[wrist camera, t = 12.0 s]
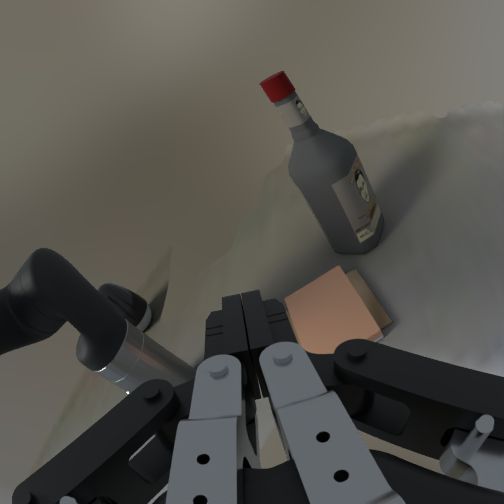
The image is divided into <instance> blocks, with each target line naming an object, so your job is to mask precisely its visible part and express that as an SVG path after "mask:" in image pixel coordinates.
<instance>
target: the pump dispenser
mask: <svg viewBox="0 0 504 504" xmlns="http://www.w3.org/2000/svg"><path fill="white" fill-rule="evenodd" d="M97 291H99V292H100V293H101V294H102V295H103V296H104V297H105V298H106V299H107V300H108V301H109V302H110V304H111V305H112V306H113V307H114V309H115V310H116V311H117V312H118V313H119V314H120V315H121V316H122V317H124V318H125V319H126V320H127V321H129V322H130V323H131V324H133V325H134V326H135V327H136V328H138V329H139V330H141V331H142V332H143V331H144V330H145V329H146V328H147V327H148V325H149V323H150V321H151V310H150V307H149V306H148V304H147V302H146V300H144V299H143V298H142V297H140V296H139V295H137V294H136V293H134V292H132V291H130V290H128V289H126V288H124V287H122V286H119V285H116V284H113V283H104V284H102V285H100V286H99V288H98V290H97Z"/></svg>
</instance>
